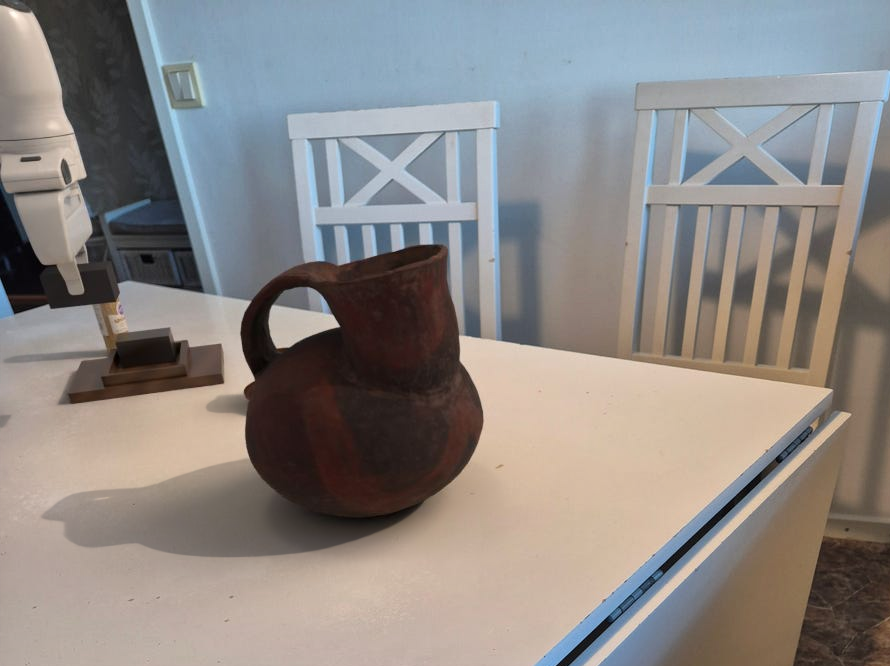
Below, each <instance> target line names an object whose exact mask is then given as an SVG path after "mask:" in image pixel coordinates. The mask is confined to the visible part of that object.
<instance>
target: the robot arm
mask: <svg viewBox="0 0 890 666" xmlns="http://www.w3.org/2000/svg"><path fill="white" fill-rule="evenodd" d="M87 176H88V175H87V172H86V169H85V164H84V162H83V157H82V154H81V151H80V147H79V144H78V141H77V137H76V133H75V131H74V128H73V126H72V124H71V122H70V120H69V118H68V117H67V114H66V111H65V108H64V103H63V89H62V85H61V81H60V78H59V75H58V71H57V68H56V64H55V62H54V59H53V55H52V53H51V51H50V48H49V45H48V42H47V39H46V37H45V34H44V32H43V30H42V27H41V25H40V23H39V21H38V18H37V17H36V16H35V14H34V12H33V11H32V9H31V8H30V7H28V5H26V4H25V3H23V2H22V1H20V0H0V180H1V182H2V186H3V189H4V191H5V192H6V193H7V194H13V201H14V205H15V209H16V211H17V213H18V216H19V218H20V221H21V224H22V226H23V228H24V231H25V233H26V236H27V238H28V241H29V243H30V245H31V248H32V250H33V252H34V254H35V256H36V258H37V259H38V260H39V262H40V263H41V264H42V265H43V266H53V265H56V266H57V267H58V269H59V271H60V273H61V275H62V277H63V278H64V280H65V282H66V285H67V288H68V291H69V293H70V294H71V295H80V294H83V293H84V291H85V286H84V283H83V279H82V277H81V276H80V273H79V270H78V267H77V264H84V263H89V257H88V250H87V247H86V243H87V242H88V240H89V239H90V237H91V236H92V235H93V225H92V220H91V218H90V213H89V211H88V208H87V205H86V202H85V199H84V196H83V193H82V191H81V187H80V185H79V182H78V181H81V180H84V179H86V178H87Z"/></svg>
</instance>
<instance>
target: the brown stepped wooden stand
mask: <svg viewBox="0 0 890 666" xmlns="http://www.w3.org/2000/svg"><path fill="white" fill-rule="evenodd" d="M171 328H172V327H170V326H168V327H161V328H150V329H143V330H135V331H129V332H127V333H118V335H117V338H116V341H115V344H116V348H117V349H110V352H109V354H108V355H107V357H102V358H94V359H86V360H81V361H80V364H79V365H78V368H77V369H76V372H75V375H74V377H73V380H72V381H71V385H70V386H69V388H68V391H67V397H68V400H69V402H70V404H71V405H73V404H80V403H85V402H94V401H101V400H108V399H109V400H110V399H117V398H124V397H131V396H138V395H139V396H140V395H147V394H153V393H154V394H155V393H160V392H169V391H176V390H183V389H191V388H199V387H205V386H212V385H213V386H215V385H220V384H225V365H224V364H225V363H224V361H225V359H224V357H225V356H224V348H223V344H222V343H213V344H205V345H196V346H190V344H189V340H188V339H181V340H174V336H173V332H172V329H171Z"/></svg>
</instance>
